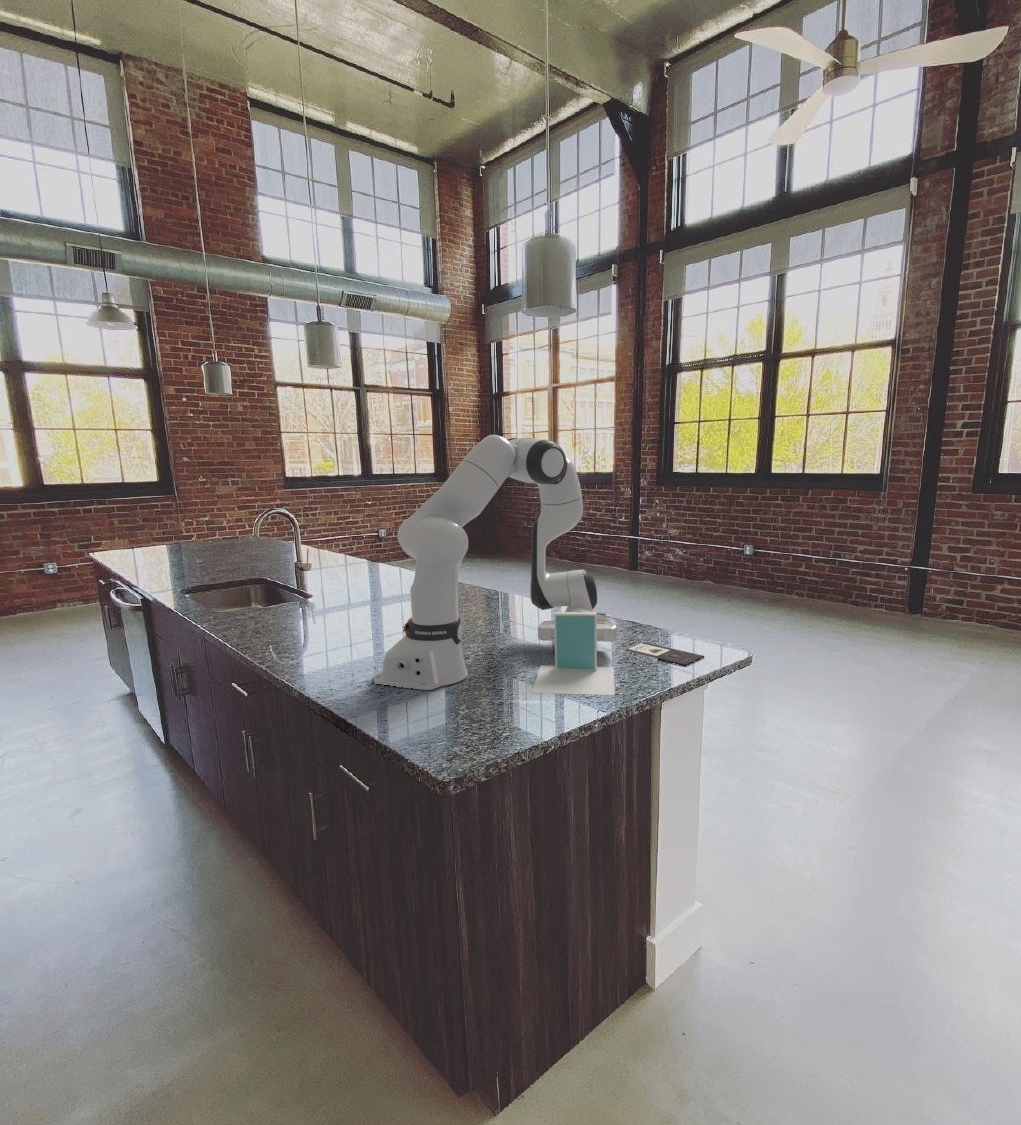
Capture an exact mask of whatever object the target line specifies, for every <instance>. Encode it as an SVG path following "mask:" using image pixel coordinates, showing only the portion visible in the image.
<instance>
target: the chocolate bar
mask: <svg viewBox="0 0 1021 1125" xmlns="http://www.w3.org/2000/svg"><path fill="white" fill-rule="evenodd" d="M625 651H627V652H631V653H635V654H639V655H644V656H648V657H651V658H656V659H658V660H657V661H660V660H662V661H661V662H664V661H668V662H671V663H670V664H672V663H675V664H674V665H676V664H679V665H678V666H680V665H683V666H682V667H684V666H686V667H688V666H690V665H689V664H691V663H693V662H694V661H697V662H699V661H700V659H701V658H703V657H704V658H705V655H703V654H697V653H692V652H688V651H684V650H680V649H675V648H671V647H666V646H662V645H658V644H653V643H649V642H641V643H639V644H637V645H634V646H631V647H630V648H627V649H625ZM704 658H703V659H704ZM698 660H699V661H698ZM701 660H702V659H701ZM668 662H667V663H668ZM693 664H694V663H693ZM687 665H688V666H687ZM691 665H692V664H691Z"/></svg>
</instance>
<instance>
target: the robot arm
mask: <svg viewBox="0 0 1021 1125" xmlns="http://www.w3.org/2000/svg"><path fill="white" fill-rule="evenodd" d="M506 479H510V480H517V481H520V482H523V483H528V484H536V485H537V488H538V492H539V498H540V508H541V509H540V515H539V517H538V518H537V519H536V520H535V521H534V522H533V524H532V529H531V545H530V546H531V550H530V554H531V557H530V558H531V559H530V561H531V562H530V564H531V567H530V569H531V570H530V571H531V573H530V583H529V598H530V601H531V604H532V605H534V606H535V607H536V608H538V609H540V610H542V611H545V610H546V611H547V610H551V609H554V608H561V607H566V608H565V610H564V612H595V607H596V606H597V604H598V593H597V592H598V591H597V584H596V581H595V578H594V577H593V575H592V574H591V573H590V572H589V571H588V570H586V569H584V568H583V569H574V570H568V571H561V572H553V573H551V572H550V573H549V572H547V571H546V555H547V554H546V553H547V552H546V550H547V549H546V548H547V546H548V545H549V544H550V543H551V542H552V541H554V540H555V539H557V538H558V537H561V536H562V535H564V534H566V533H568V532H570V531H571V530H572V529H573V528H575V527H576V526H577V525H578V523H580V521H581V519H582V518H583V514H584V503H583V502H584V501H583V495H582V494H583V493H582V489H581V483H580V480H579V477H578V474H577V470H576V466H575V464H574V463H573V461H572V460H571V459H569V458H567V457H566V453H565V452H564V450H563V448H562V447H561V446H560V445H559V444H558V443H556V442H554V441H551V440H549V439H539V438H538V439H537V438H533V437H519V438H518V437H512V438H508V439H506V438H505V437H504V436H501V435H499V434H489V435H487V436H486V437H484V438H483V439H482V440H481V441H479V442H478V443H477V444H476V445H475V446H474V447H473V448H472V449H470V451H469V452H468V453H467V454H466V455H465V457H464V458H463V459H462V460H461V461H460V463H459V464H458V466H457V467H456V468H455V469H454V471H453V472H452V473H451V474H450V475H449V477H448V478H447V479H446V481H445V482H444V483H443V484H442V486H441V487H440V488H439V489H438V490H436V492H434V493H433V495H431V496H430V497H429V498H428V499H427V500H426V501H424V503H422V505H420V507H419V508H418V509H417V510H415V512H414V513H413V514H411V516H409V517H408V518H406V519H405V520H403V522H401V523H400V524H399V525H400V526H399V528H398V530H397V541H398V544H399V546H400V547H401V549H402V550H403V551H404V552H405V553H406V554H407V555H408V556H409V557H411V558H414V559H415V570H414V578H413V583H412V585H411V586H410V591H409V593H410V607H411V608H410V609H411V617H410V618H408V620H407V622H405V624H404V626H402V629H403V630H402V632H403V633H405V636H403V637H402V638H401V639H399V640H398V641H397V642H396V643H395V644H394V645H393V646H391V648H389V649H388V650H387V651H386V652H385V655H384V657H383V661H382V667H381V668H380V669H378V670H377V672H376V673H375V674H374V676H373V683H374V682H375V683H376V684H385V685H390V686H389V687H393V686H396V687H395V688H402V687H403V688H402V689H411V688H413V689H414V690H420V691H421V690H423V691H432V690H435V689H437V688H439V687H440V688H441V687H444V686H449V685H453V684H457V683H459V682H461V681H463V680H465V679H466V678H467V677H468V675H469V672H468V670H467V666H466V663H465V660H464V655H463V650H462V644H461V642H462V635H463V634H462V631H463V630H462V624H461V617H460V616H459V601H458V599H459V598H458V597H459V596H458V586H459V578H460V572H461V565H462V562H463V559H464V557H465V556H466V555H467V552H468V550H469V537H468V534H467V532H466V531H465V528H463V527H465V525H467V524H468V523H470V521H472V520H474V519H475V518H477V517H478V516H479V515H481V513H482V511H483V510H484V509H485V507H486V506H487V505H488V504H489V502H490V501H491V500H492V498H493V497H494V496H495V495H496V493H497V492H498V491H499V489H500V488H501V486H502V485H503V483H504V482H505V480H506ZM617 628H618V627H617V625H616V622H615V620H614V619H612V618H611V614H609V613H604V612H597V642H605V643H606V642H607V643H608V642H609V643H610V642H612V643H614V642H616V641H617V639H618V638H617V637H618V635H617V634H618V629H617ZM537 639H538V640H539V641H544V642H545V641H550V642H551V641H552V642H555V627H554V620H544V621H542V622H541V623H540V624H539V625H538V627H537ZM376 684H375V685H376Z"/></svg>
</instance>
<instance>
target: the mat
mask: <svg viewBox="0 0 1021 1125" xmlns="http://www.w3.org/2000/svg"><path fill="white" fill-rule="evenodd" d="M614 668H615V667H614V666H597V671H580V670H555V665H539V669H538V673H537V675H536V678H535V681H534V685H533V688H532V691H531V693H532V694H555V695H557V694H558V695H559V694H561V695H588V696H589V695H591V696H592V695H596V696H597V695H598V696H599V695H600V696H616V695H615V694H616V691H615V689H616V688H615V671H614V670H615V669H614Z"/></svg>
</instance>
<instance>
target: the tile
mask: <svg viewBox="0 0 1021 1125" xmlns="http://www.w3.org/2000/svg"><path fill="white" fill-rule="evenodd" d="M597 613H598V612H597V611H594V612H565V611H554V613H553V617H554V618H553V619H554V620H553V621H554V627H555V641H554V661H555V662H554V666H555V670H580V671H597V667H598V641H597Z"/></svg>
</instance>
